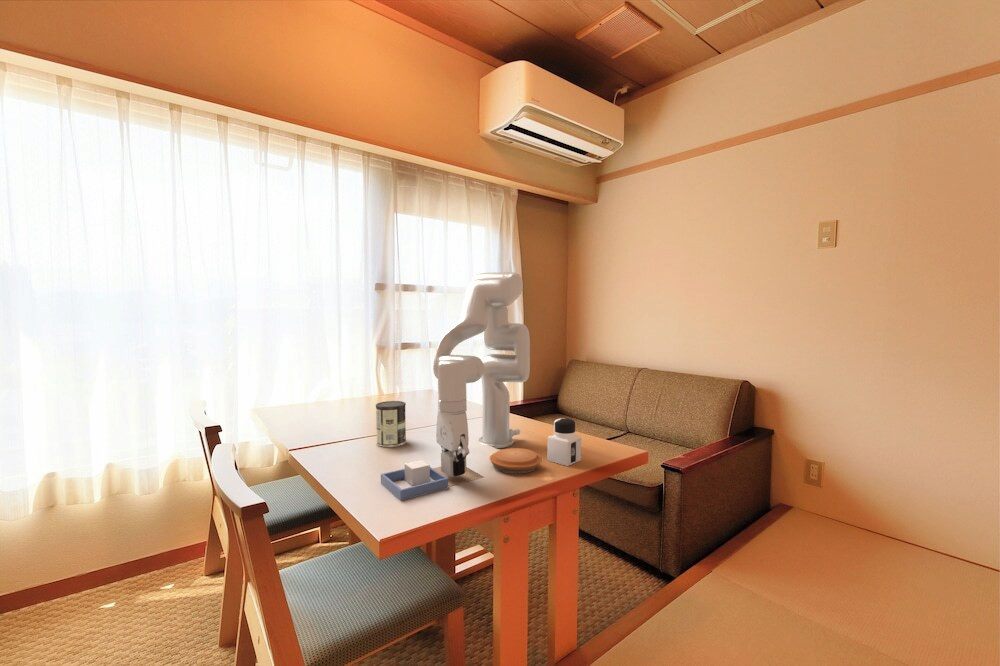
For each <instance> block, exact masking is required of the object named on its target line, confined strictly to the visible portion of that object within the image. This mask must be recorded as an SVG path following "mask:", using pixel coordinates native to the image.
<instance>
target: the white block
mask: <svg viewBox="0 0 1000 666" xmlns="http://www.w3.org/2000/svg"><path fill="white" fill-rule="evenodd" d="M430 467H431V466H430V464H428V463H427V462H426V461H424V460H423V459H420V460H415V461H411V462H406V463H404V469H405V478H404V481H406V482H407V483H408V484H410V485H411V487H412V486H416V485H420V484H424V483H428V482H431V478H430Z"/></svg>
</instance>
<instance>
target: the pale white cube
mask: <svg viewBox="0 0 1000 666" xmlns="http://www.w3.org/2000/svg"><path fill="white" fill-rule="evenodd" d="M460 453H461V451H459V452H457V454H458V455H459V454H460ZM453 461H455V459H454V453H453V452H451V451H447V452H443V453H442V452H440V467H441V471H442V472H444V473H445V474H447V475H448V476H450V477H452V476H454V475H453ZM466 467H467V459H466V460H465V473H466Z"/></svg>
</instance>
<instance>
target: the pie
mask: <svg viewBox="0 0 1000 666" xmlns="http://www.w3.org/2000/svg"><path fill="white" fill-rule="evenodd" d="M489 461H490V463H491V464H492V465H493V466H494V468H495V469H496V470H498V471H500V472H503V473H506V474H507V473H509V474H526V473H530V472H533V471H534V470H537V468H538V466H539V465H540V464H541V463H542V462H543V457H542V456H541V455H540V454H539V453H537V452H535V451H533V450H531V449H527V448H521V447H512V448H509V447H508V448H502V449H499V450H497V451H496V452H494V453H492V454H491V455H490V456H489Z"/></svg>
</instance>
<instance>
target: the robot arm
mask: <svg viewBox="0 0 1000 666" xmlns="http://www.w3.org/2000/svg"><path fill="white" fill-rule="evenodd" d="M523 286H524V283H523V279H522V276H521V275H520V274H519V273H518V272H515V271H514V272H512V271H510V272H508V271H507V272H506V271H505V272H482V273H478V274H476V275H474V276H473V277H472V279H471V281H470V282H469V284H468V285H467V286H466V290H465V295H464V299H463V302H462V307H461V310H460V311H461V312H460V316H459V319H458V322H456V323H455V324H454V325H453V326H452V327H450V329H449V330H448V331H447V332H445V334H444V335H443V336H442V338H441V339H440V341H439V342H438V345H437V347H436V352H435V355H434V360H433V368H432V370H433V374H434V377H435V378H436V379H437V389H438V390H437V391H438V392H437V393H438V395H437V399H438V400H437V402H438V403H437V404H438V409H437V417H436V418H437V419H436V432H435V433H436V443H437V445H439V446H440V447H441V453H443V452H447V451H451V452H453V453H454V459H455V461H453V475H454V476H459V475H462V474H464V473H465V460H466V461H467V456H468V455H469V454H470V449H469V426H468V417H467V409H468V407H467V406H468V405H467V384H470V383H471V384H472V383H476V382H478V381H480V379H481V385H482V386H481V387H482V436H481V437H479V438H478V440H477V442H479V443H480V444H482V445H486V446H489V447H491V448H494V449H506V448H509V447H511V446H513V445H514V442H515V439H514V438H513V437H515V436H517V435H518V436H519V435H520V434H521V430H520V429H519V428H516V429H513V428H510V412H511V411H510V407H511V405H510V403H511V402H510V401H511V399H510V392H509V390H508V389H509V388H508V387H507V386H506V384H505V383H506V382H507V383H524V382H527V381H528V379H529V377H530V373H531V372H530V371H531V370H530V369H531V366H530V364H531V355H530V354H531V350H530V349H531V348H530V347H531V340H530V338H531V337H530V331H529V328H528V327H527V325H525V324H523V323H516V322H515V323H514V322H513V323H510V322H509V309H508V306H510V305H511V304H513V303H514V302H515V301H517V299H518V298H519V297H520V296H521V294H522V292H523ZM482 333H483V339H484V340H483V341H484V346H485V348H487V349H488V350H492V351H507V352H510V351H512V352H514V354H507V353H506V354H505V353H490V354H486V355H484V356H483V357H482V358H480V357H478V356H475V355H463V354H462V355H461V354H452V352H453V350H454V349H455V348H456V347H457V346H458V345H459V344H460V343H462V342H464V341H467V340H469V339H471V338H473V337H476V336H478V335H480V334H482ZM459 447H460V448H459ZM459 451H461V453H460V454H459V455H458V454H457V452H459Z"/></svg>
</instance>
